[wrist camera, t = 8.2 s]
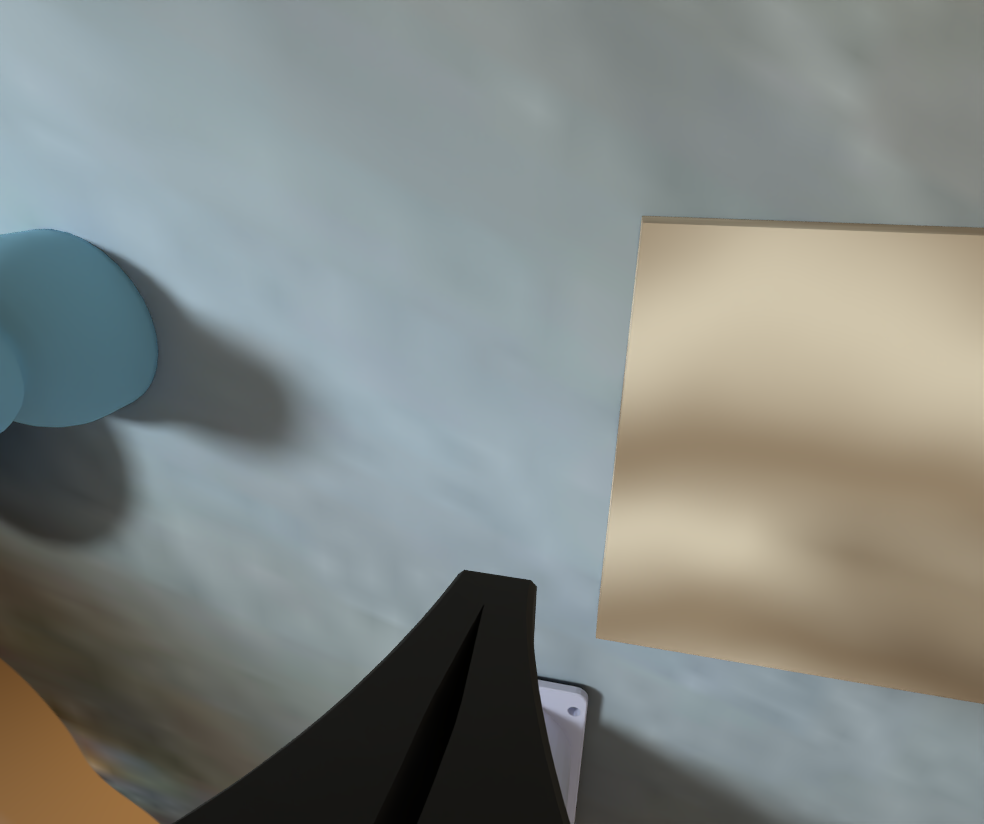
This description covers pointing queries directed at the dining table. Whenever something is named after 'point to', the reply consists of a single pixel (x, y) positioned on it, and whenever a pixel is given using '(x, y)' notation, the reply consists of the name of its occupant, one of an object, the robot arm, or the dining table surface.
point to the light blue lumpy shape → (68, 332)
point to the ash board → (804, 451)
